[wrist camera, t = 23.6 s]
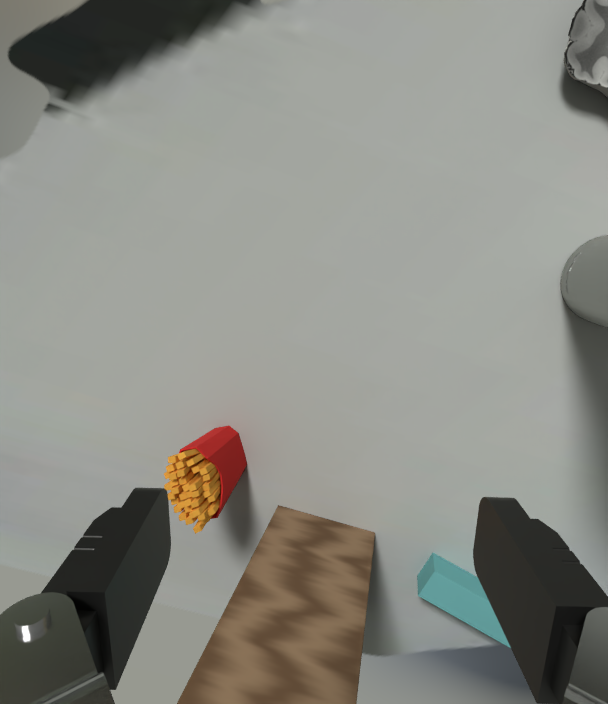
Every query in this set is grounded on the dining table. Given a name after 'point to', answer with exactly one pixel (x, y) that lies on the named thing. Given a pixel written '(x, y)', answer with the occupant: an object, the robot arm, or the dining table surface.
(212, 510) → the french fries
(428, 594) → the batten
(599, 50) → the brain slice
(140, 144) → the dining table surface
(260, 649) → the wooden block
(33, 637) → the robot arm
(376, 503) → the dining table surface
